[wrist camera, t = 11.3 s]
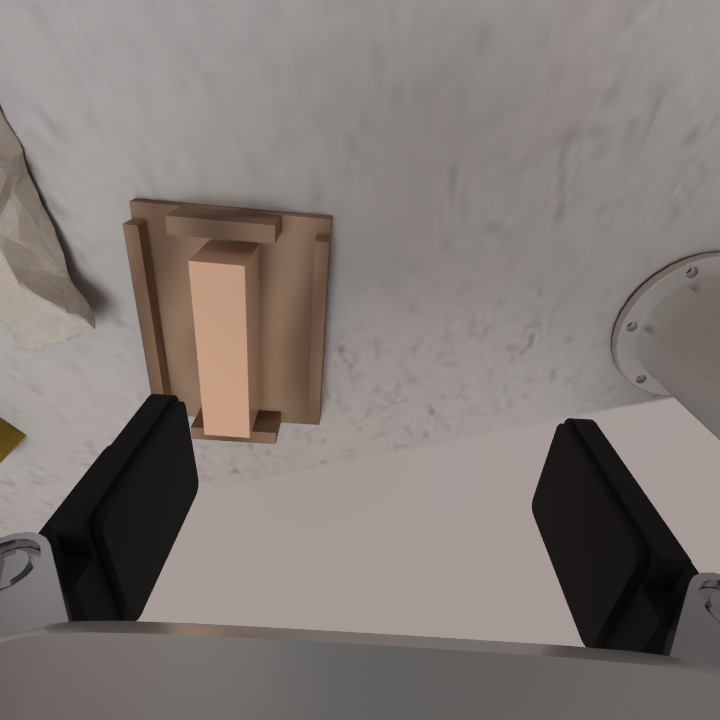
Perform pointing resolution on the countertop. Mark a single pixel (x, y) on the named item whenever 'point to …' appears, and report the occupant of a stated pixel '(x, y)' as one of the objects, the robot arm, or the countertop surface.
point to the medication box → (9, 438)
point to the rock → (33, 261)
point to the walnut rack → (277, 304)
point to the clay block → (227, 334)
